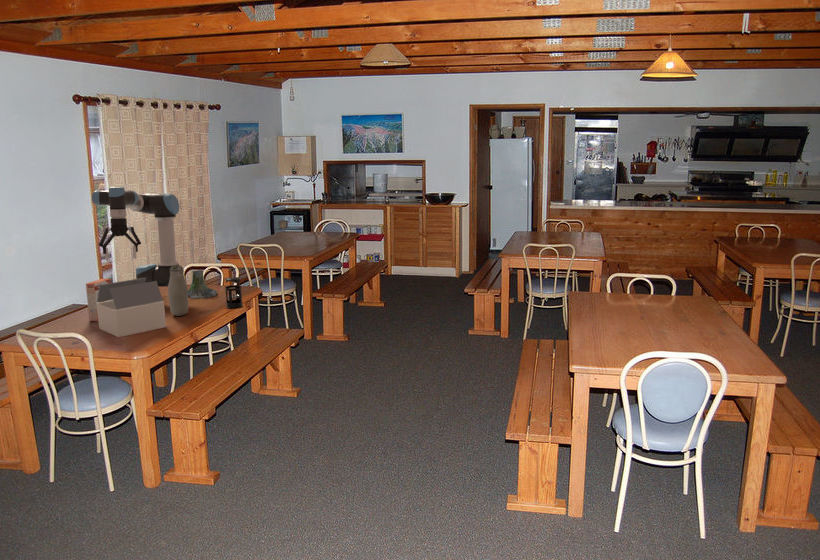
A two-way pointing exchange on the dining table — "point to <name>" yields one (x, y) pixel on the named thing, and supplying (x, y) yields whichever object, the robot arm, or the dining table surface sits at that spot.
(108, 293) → the flap
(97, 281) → the cracker box
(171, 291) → the grey bottle
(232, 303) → the black lantern
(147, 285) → the flap
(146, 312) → the carton
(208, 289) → the tree stump
